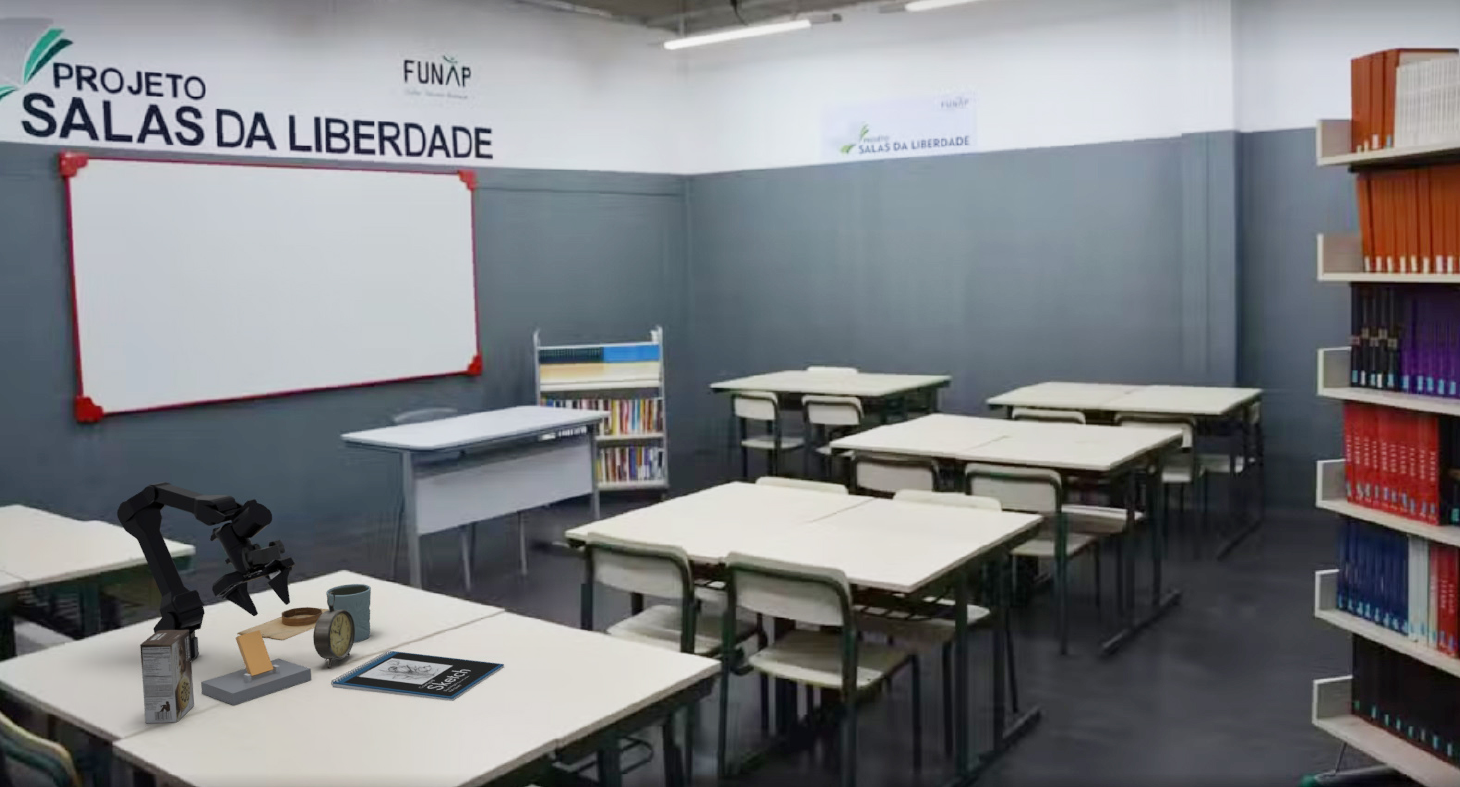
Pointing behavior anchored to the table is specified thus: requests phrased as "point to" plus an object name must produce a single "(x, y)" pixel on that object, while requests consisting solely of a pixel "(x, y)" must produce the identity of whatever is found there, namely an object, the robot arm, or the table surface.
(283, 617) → the board
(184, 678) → the coffee box
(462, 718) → the table surface
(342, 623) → the alarm clock
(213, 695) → the switch panel
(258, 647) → the orange foam slab
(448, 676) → the sketchbook
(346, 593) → the blue-grey cylinder
